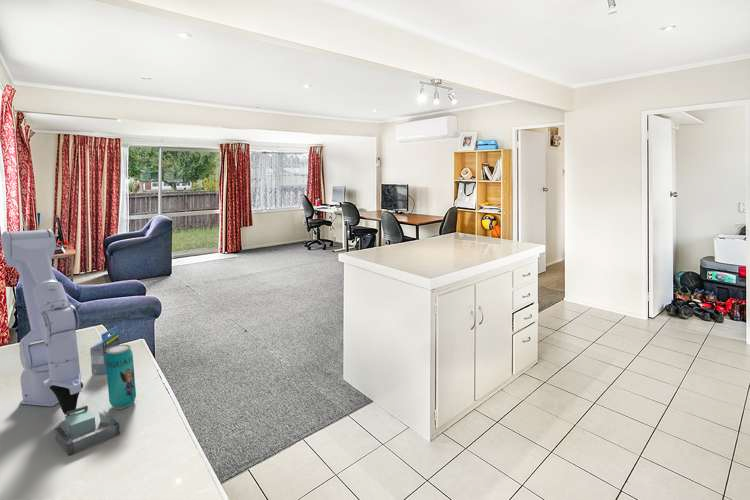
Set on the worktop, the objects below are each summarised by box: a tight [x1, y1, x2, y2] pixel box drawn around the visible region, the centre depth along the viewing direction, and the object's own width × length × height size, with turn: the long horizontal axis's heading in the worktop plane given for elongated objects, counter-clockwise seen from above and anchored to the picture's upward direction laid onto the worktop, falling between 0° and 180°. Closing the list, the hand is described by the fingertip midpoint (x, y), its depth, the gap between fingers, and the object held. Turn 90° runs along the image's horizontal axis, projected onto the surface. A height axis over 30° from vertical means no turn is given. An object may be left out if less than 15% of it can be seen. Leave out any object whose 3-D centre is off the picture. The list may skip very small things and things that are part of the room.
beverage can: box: [105, 344, 137, 410], centre depth 101 cm, size 6×6×15 cm
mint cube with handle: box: [64, 405, 97, 438], centre depth 92 cm, size 6×4×4 cm
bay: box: [53, 409, 121, 457], centre depth 89 cm, size 9×10×2 cm
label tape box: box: [89, 325, 120, 376], centre depth 122 cm, size 9×4×12 cm, turn 6°
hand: (69, 412), depth 96 cm, fingers closed
